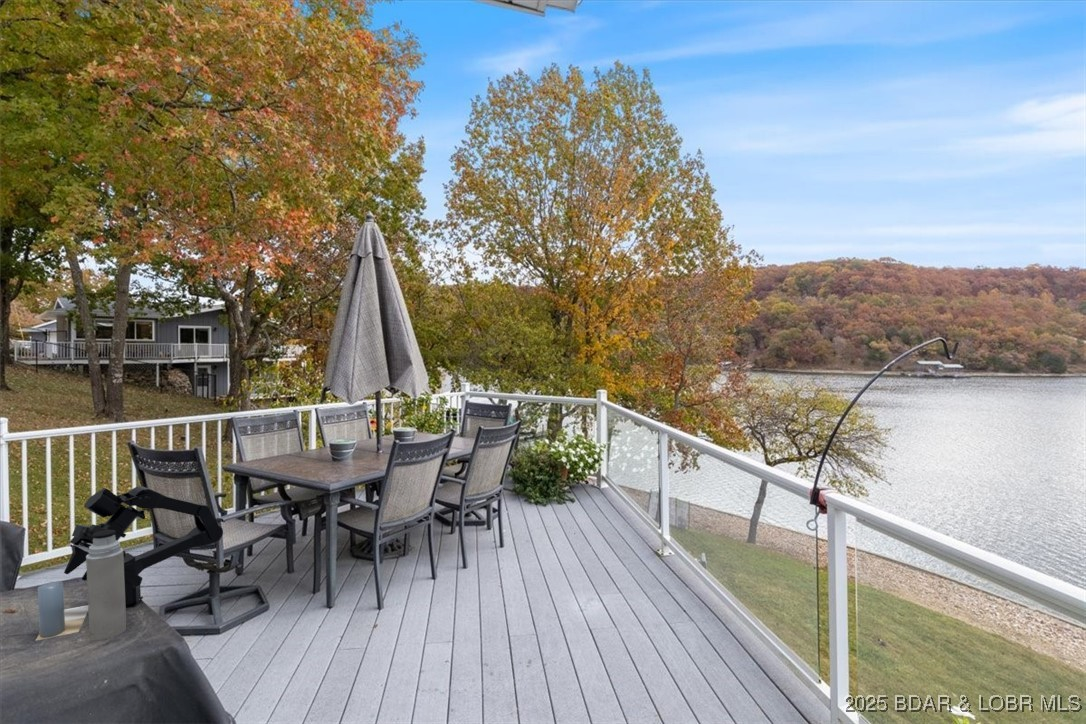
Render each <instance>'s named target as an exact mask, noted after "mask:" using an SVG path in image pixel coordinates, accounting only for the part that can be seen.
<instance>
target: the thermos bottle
mask: <svg viewBox="0 0 1086 724" xmlns="http://www.w3.org/2000/svg"><path fill="white" fill-rule="evenodd" d="M115 534H116V531H115V530H104V531H100V532H96V533H94V534H93V544H92V545H91V546H90V547H89V551H88V553H89V554H88V555H87V556H86V561H85V563H86V571H87V580H86V585H87V586H86V587H87V590H86V591H87V605H88V613H87V615H88V631H89V632H88V633H89V639H90V640H91V641H104V640H108V639H112V638H115V637H117V636H119V635H122V634H123V633H124V632H125V631H126V630H127V612H126V611H127V610H126V609H127V608H126V606H125V581H124V557H123V551H124V549H123V548H122V547H121V541H119V540H118V541H117V540H116V538H115Z"/></svg>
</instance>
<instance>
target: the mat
mask: <svg viewBox="0 0 1086 724" xmlns="http://www.w3.org/2000/svg"><path fill="white" fill-rule="evenodd" d="M64 615H65V631H64V632H62V633H61V634H59V635H56V636H53V637H48V638H42V637H40V632H39V633H38V635H37V637H36V639H35V640H34V641H35V642H37V641H41V640H47V639H51V638H56V637H61V636H66V635H70V634H76V633H79V632H80V630H81V628H82V625H83V623H84V621H85V619H86V617H87V615H88V604H87V605H81V606H77V607H76V606H75V607H70V608H64Z"/></svg>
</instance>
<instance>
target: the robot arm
mask: <svg viewBox="0 0 1086 724" xmlns="http://www.w3.org/2000/svg"><path fill="white" fill-rule="evenodd" d="M124 504H125V505H126V506H125V505H124ZM134 506H135V507H138V508H140V509H137V508H135V507H134ZM83 507H84V508H85V509H87V510H88V511H90V512H91V513H93V514H94V515H97V516H99V517H100V518H103V519H104V518H107V517H109V518H108V519H107V520H106V521H105V523H103V522H101V523H99V524H91V525H83V524H76V525H75V527H74V530H73V532H72V534H71V537H72V539H70V540H69V544H70V545H69V546H70V548H71V552H72V553H71V556H70V558H69V560H68V562H67V565H66V567H65V569H64V571H63V574H64V575H65V574H66V575H69V574H70V573H72V572H73V571H74V570H76V569H77V568H78V567H80V565H82V564H83V563H86V556H87V555H88V554H89V552H88V551H89V547H90V546H91V545H92V544H93V534H94V533H96V532H100V531H104V530H115V531H116V534H115V538H116V540H117V541H119V540H120V538H125V537H126V536H127V534H126V531H127V530H128V529H129V527H130V526H131V525H132V524H133V523H134V521H135V520H136V519H139V520H145V519H146V514H145V510H144V509H151V510H152V509H153V510H156V509H163V510H168V511H173V512H178V513H182V514H186V515H191V516H193V519H194V521H193V522H194V524H195V527H193V528H192V529H191V530H190V531H189V532H188V533H187V534H185V535H183V536H181V537H179V538H176V539H173V540H171V541H169V542H167V543H164V544H162V545H159V546H157V547H155V548H152V549H150V550H147V551H145V552H143V553H141V554H138V555H133V554H131V553H129V552H126V551H125V550H123V557H124V581H125V606H126V609H129V608H135V607H136V606H137V605H138V604H139V603H140V602H141V601H142V600H143V598H144V596H142V593H141V584H142V581H143V579H144V578H143V577H142V576H141V575H140V574H141V573H142V572H143V571H144V570H146V569H148V568H150V567H151V566H154V565H157V564H159V563H161V562H163V561H165V560H167V559H171V558H173V557H174V556H176V555H179V554H181V553H184V552H186V551H188V550H190V549H193V548H195V547H204V546H210V545H213V544H216V543H218V542H219V541H220V540H221V539H222V537H223V534H224V529H223V528H222V526H220V525H219V524H218V522H217V520H216V518H215V517H214V515H213V513H212V511H211V509H210V507H209V506H208V505H207V504H203V503H197V502H193V501H188V500H185V499H179V498H175V497H171V496H166V495H163V494H162V493H160V492H157V491H155V490H153V489H150V488H148V487H145V486H140V485H137V486H135V487H133V488H132V489H130V491H127V492H124V493H121V494H119V495H118V494H117V495H116V494H115V493H113V492H112V491H111V490H109V489H108V488H106V487H103V488H102V489H101V490H99V491H97V492H95V493H94V494H93V495H91V496H89V497H88V499H87V500H86V502H85V503H84V505H83ZM81 580H82V581H87V570H85V572H84V574H83V575H82V576H81ZM139 599H140V600H141V601H140V600H139Z"/></svg>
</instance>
